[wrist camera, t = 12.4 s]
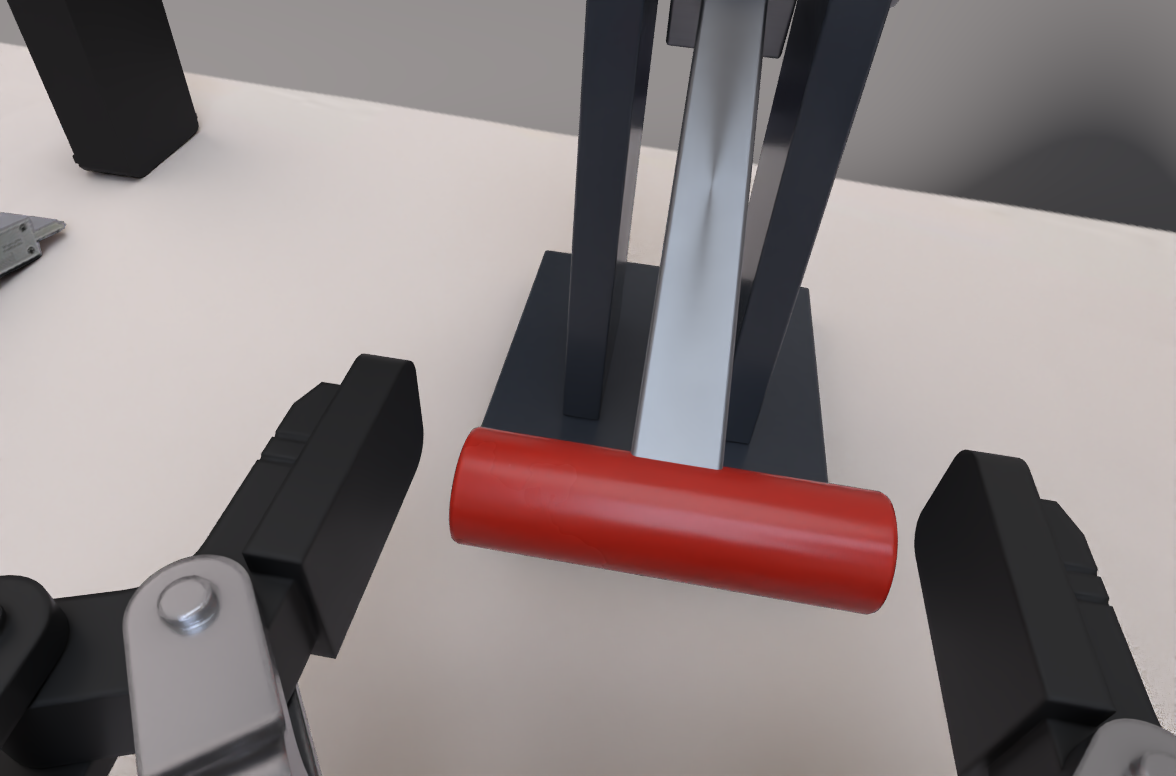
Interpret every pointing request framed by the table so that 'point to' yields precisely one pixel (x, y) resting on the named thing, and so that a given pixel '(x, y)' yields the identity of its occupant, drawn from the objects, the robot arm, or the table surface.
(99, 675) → the robot arm
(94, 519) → the table surface
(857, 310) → the table surface
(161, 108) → the ink cartridge
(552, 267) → the stand
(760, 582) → the lever
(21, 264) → the caliper
